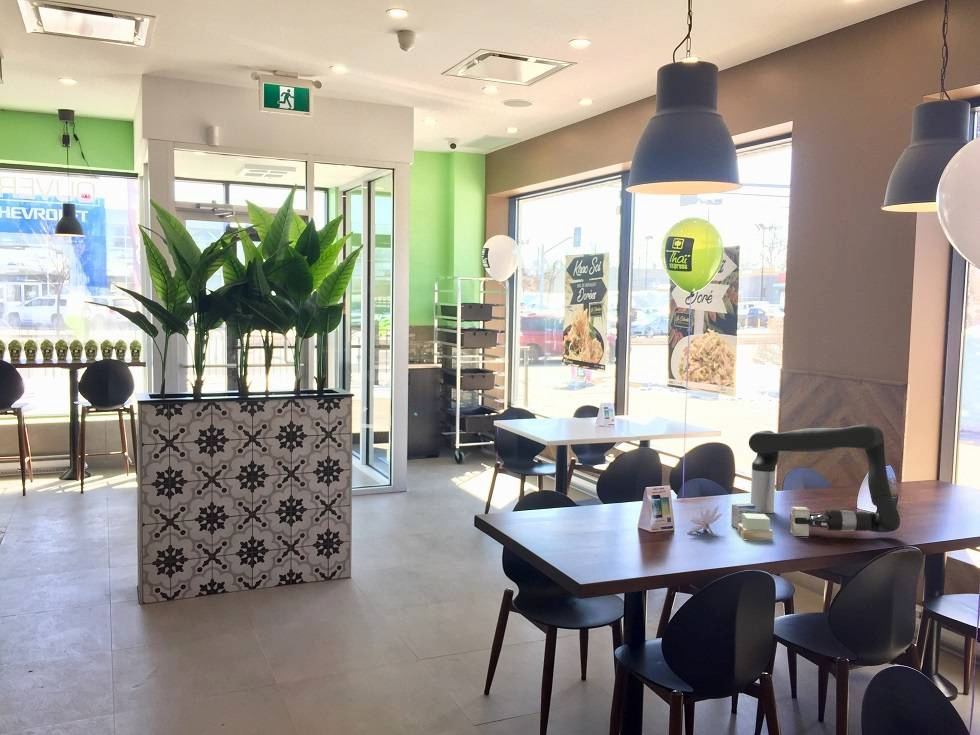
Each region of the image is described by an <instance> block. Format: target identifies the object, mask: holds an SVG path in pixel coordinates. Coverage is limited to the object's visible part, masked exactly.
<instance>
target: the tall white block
mask: <svg viewBox="0 0 980 735" xmlns="http://www.w3.org/2000/svg"><path fill="white" fill-rule="evenodd" d="M809 514H810V509H809V508H808V507H806V506H791V513H790V515H791V519H790V534H791V533H792V534H793V535H794V536H809V537H810V534H809V533H810V526H809V525H806V524H795V518H809ZM792 534H791V535H792ZM793 535H792V536H793ZM794 536H793V537H794Z"/></svg>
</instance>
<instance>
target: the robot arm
mask: <svg viewBox="0 0 980 735" xmlns="http://www.w3.org/2000/svg"><path fill="white" fill-rule="evenodd" d="M748 447H749V448H750V449H751V450H752V452H753V453H756V458H755V459H754V460H753V461H752V463H751V487H750V504H753V505H755V506H756V514H773V513H775V498H776V497H775V495H776V494H775V493H776V492H775V491H776V468H777V466H778V465H777V464H778V462H779V453H780V452H792V453H795V452H797V453H803V452H804V453H811V452H812V453H816V452H824V451H825V452H826V451H830V450H834V449H838V448H847V449H848V448H850V449H851V448H852V449H860V450H864V451H865V454H866V457H867V458H866V459H867V462H868V465H867V466H868V471H867V472H868V473H867V474H868V476H867V485H868V491H869V495H870V499H871V503H872V505H873V506H875V507H876V509H877V512H876V513H873V512H872V513H870V512H866V511H858V510H857V511H856V510H855V511H854V510H847V509H845V510H844V509H827V510H825V512H824V514H821V513H820V512H816V511H814V512H810V514H809V518H795V524H806V525H809V528H810V527H815V528H816V527H817V528H823V529H826V531H835V532H853V531H855V532H867V531H868V532H873V533H891V532H895V531H897V530H898V529H899V528H900V525H901V517H900V513H899V511H898V508H897V507H896V504H895V503H894V500H893V496H892V492H891V491H892V490H891V487H890V483H889V477H888V471H887V466H886V454H885V437H884V433H883V431H882V429H880V427H878V426H876V425H873V424H872V425H871V424H857V425H853V426H846V427H841V428H837V427H835V428H834V427H810V428H809V427H808V428H801V429H800V428H799V429H794V430H790V431H783V432H774V431H772V430H761V431H757V432H754V433H753V434H752V435H751V436H750V437H749V440H748ZM751 450H750V451H751ZM789 517H790V518H789V519H790V520H791V514H790V516H789Z"/></svg>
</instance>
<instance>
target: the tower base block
mask: <svg viewBox="0 0 980 735" xmlns="http://www.w3.org/2000/svg"><path fill="white" fill-rule="evenodd" d="M737 532H738V533H737V535H739V536H740V537H741V539H742V540H743V539H747V540H746V541H759V540H772V541H773V533H774V531H773V530H772V529H771V527H769V530H751V529H746V528H745V527H744V526H743V525H742V523H738V529H737Z"/></svg>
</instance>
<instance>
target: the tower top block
mask: <svg viewBox="0 0 980 735" xmlns="http://www.w3.org/2000/svg"><path fill="white" fill-rule="evenodd" d="M770 521H771V519H770V518H769V517H768V516H767V515H766V513H756V514H750V513H742V525H743V526H744V527H745V528H746V529H751V530H769V528H771V527H770V524H771V523H770Z"/></svg>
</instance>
